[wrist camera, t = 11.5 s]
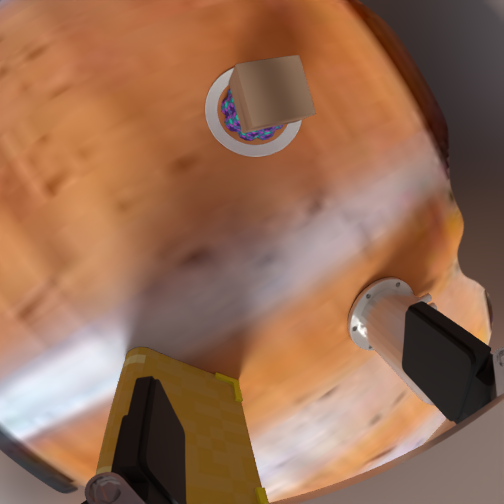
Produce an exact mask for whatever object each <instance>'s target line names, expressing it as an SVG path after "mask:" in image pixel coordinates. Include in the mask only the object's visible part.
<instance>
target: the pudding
mask: <svg viewBox="0 0 504 504" xmlns="http://www.w3.org/2000/svg"><path fill="white" fill-rule="evenodd" d="M233 69H234V68H232V69H230V70H228V71H226V72H225V73H224V74H222V75H221V76H220V77H219V78H218V79H217V80H216V81H215V82H214V83H213V85H212V86H211V88H210V90H209V92H208V95H207V98H206V103H205V114H206V120H207V123H208V126H209V128H210V130H211V132H212V133H213V135H214V136H215V138H216V139H217V140H218V141H219V142H220V143H221V144H222V145H224V146H225V147H226V148H228V149H229V150H231V151H233V152H235V153H238V154H241V155H245V156H250V157H260V156H267V155H270V154H273V153H276V152H278V151H280V150H281V149H283V148H284V147H286V146H287V145H288V144H289V143H290V142H291V141H292V140H293V139H294V137H295V136H296V134H297V132H298V131H299V128H300V125H301V122H302V120H300V121H297V122H294V123H289V124H288V125H287V127H286V129H285V130H284V132H283V133H282V134H281V135H280V136H279V137H277V138H276V139H275V140H273V141H271V142H269V143H266V144H261V145H249V144H244V143H241V142H239V141H237V140H235V139H233V138H232V137H231V136H230V135H228V134H227V133H226V131H225V130H224V129H223V127H222V126H221V124H220V121H219V119H218V114H217V104H218V100H219V97H220V95H221V93H222V92H223V90H224V89H225V88H226V87H227V86H228V84H229V79H230V77H231V74H232V72H233ZM221 110H222V112H223V113H224V114H225V115H226V118H225V124H226V127H227V128H228V129H229V130H230V131H234V132H238V134H239V136H240V138H242V139H244V140H249V141H252V140H254V139H255V138H259V139H261V140H266V139H269V138H271V137H272V136H273V134H274V132H275V130H277V129H281V128H282V126H283V125H279V126H274V127H270V128H265V129H261V130H256V131H252V132H247V133H243V134H242V130H241V127H240V123H239V119H238V115H237V112H236V108H235V104H234V101H233V97H232V93H231V90H230V89H229V90H228V97H227V98H226V99H224V100H223V101H222V104H221Z"/></svg>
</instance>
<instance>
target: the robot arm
mask: <svg viewBox="0 0 504 504" xmlns="http://www.w3.org/2000/svg"><path fill="white" fill-rule="evenodd" d="M431 299H432V298H431V295H430V294H429V293H428V294H425V295H423V296H422V297H420V298H419V297H416V296H415V295H414V294H413V291H412V289H411V288H410V286H409V285H408V284H407V283H406V282H404V281H402V280H401V279H398V278H392V277H388V278H383V279H380V280H377V281H375V282H374V283H372V284H370V285H369V286H368V287H367V288H365V289H364V290H363V291H362V293H361V294H360V295H359V296H358V297H357V299H356V300H355V302H354V304H353V306H352V308H351V310H350V313H349V317H348V332H349V335H350V337H351V339H352V340H353V341H354V343H355V344H356V345H357V346H359V347H360V348H362V349H365V350H375V351H376V352H377V353H378V354H379V355H380V356H381V357H382V358H383V359H384V361H385V362H386V363H387V364H388V365H389V366H390V367H391V368H392V369H393V370H394V371H395V372H396V374H397V375H398V376H399V377H400V378H401V379H402V380H403V381H404V382H405V383H406V384H407V386H408V387H409V388H410V389H411V390H412V391H413V392H414V393H415V394H416V395H417V397H418V398H419V399H421V400H422V401H423V402H425V403H427V404H430V405H435V406H436V407H437V408H438V409H439V410H440V411H441V412H442V413H443V414H444V416H445V417H446V418H447V419H446V420H445V421H444V422H443V423H442V425H441V426H440V427H439V428H438V429H437V430H436V431H435V432H434V433H433V435H432V436H431V437H430V438H429V439H428V440H427V441H426V442H425V443H424V444H423V445H421V446H420V447H418V448H416V449H414V450H412V451H410V452H408V453H406V454H404V455H402V456H400V457H398V458H396V459H394V460H392V461H390V462H388V463H385V464H383V465H381V466H379V467H376V468H374V469H372V470H369V471H367V472H365V473H362V474H360V475H357V476H355V477H352V478H350V479H347V480H344V481H342V482H339V483H336V484H333V485H330V486H327V487H324V488H321V489H318V490H315V491H312V492H309V493H305V494H302V495H298V496H295V497H291V498H287V499H283V500H279V501H275V502H271V503H267V504H504V347H502V348H499V349H498V350H496V351H495V353H494V354H492V353H490V351H491V348H490V347H489V346H488V345H486V344H485V343H483V342H482V341H481V340H479V339H478V338H476V337H475V336H473V335H472V334H471V333H469V332H468V331H466V330H465V329H463V328H462V327H461V326H459V325H458V324H456V323H455V322H453V321H452V320H450V319H449V318H448V317H446V316H445V315H443V314H442V313H440V312H439V311H437V307H436V305H435V304H434V303H430V304H427V303H428V302H430V301H431ZM85 497H86V501H84V502H83V503H81V504H187V502H186V465H185V432H184V429H183V426H182V425H181V423H180V421H179V419H178V417H177V415H176V413H175V411H174V409H173V407H172V405H171V403H170V401H169V399H168V397H167V395H166V393H165V390H164V388H163V386H162V384H161V382H160V380H159V379H154V377H153V376H147V377H141V378H137V379H136V381H135V385H134V389H133V394H132V398H131V402H130V406H129V411H128V415H124V416H123V418H122V421H121V425H120V430H119V434H118V439H117V443H116V448H115V453H114V458H113V463H112V468H111V472H104V473H100V474H97V475H95V476H94V477H92V478H91V479H90V480H89V481H88V483H87V484H86V487H85Z"/></svg>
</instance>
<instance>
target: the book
mask: <svg viewBox="0 0 504 504" xmlns="http://www.w3.org/2000/svg"><path fill="white" fill-rule="evenodd" d="M147 376H153V377H154V379H159V380H160V382H161V384H162V386H163V388H164V390H165V393H166V395H167V397H168V399H169V401H170V403H171V405H172V407H173V409H174V411H175V413H176V415H177V417H178V419H179V421H180V423H181V425H182V426H183V429H184V432H185V465H186V502H187V504H267V503H269V502H268V499H267V495H266V491H265V488H262V486H261V482H260V478H259V474H258V470H257V466H256V462H255V458H254V454H253V450H252V446H251V442H250V438H249V433H248V429H247V425H246V421H245V416H244V412H243V407H242V403H241V402H242V401H243V399H242V394H241V390H240V386H239V380H237V379H234V378H231V377H228V376H225V375H222V374H220V373H217V372H216V373H215V374H212V373H209V372H207V371H204V370H201V369H198V368H196V367H193V366H191V365H188V364H185V363H183V362H180V361H178V360H175V359H173V358H171V357H168V356H166V355H163V354H161V353H159V352H156V351H154V350H152V349H149V348H145V347H138V348H134V349H132V350H131V351H129V352H128V353H127V356H126V358H125V361H124V364H123V368H122V371H121V374H120V378H119V381H118V385H117V388H116V392H115V396H114V399H113V403H112V407H111V410H110V414H109V418H108V422H107V426H106V430H105V434H104V439H103V443H102V447H101V452H100V456H99V461H98V465H97V470H96V475H97V474H100V473H104V472H111V468H112V463H113V458H114V453H115V448H116V443H117V439H118V434H119V430H120V425H121V421H122V418H123V416H124V415H128V411H129V406H130V402H131V398H132V394H133V389H134V385H135V381H136V379H137V378H141V377H147Z"/></svg>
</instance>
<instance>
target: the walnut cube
mask: <svg viewBox="0 0 504 504" xmlns="http://www.w3.org/2000/svg"><path fill="white" fill-rule="evenodd" d="M229 86H230V90H231V93H232V97H233V101H234V104H235V108H236V112H237V115H238V119H239V123H240V127H241V130H242V134H243V133H247V132H252V131H256V130H261V129H265V128H270V127H274V126H279V125H284V124H289V123H294V122H297V121H300V120H302V119H305V118H307V117H309V116H312V115H314V114H316V112H315V108H314V105H313V101H312V97H311V94H310V90H309V87H308V83H307V80H306V76H305V73H304V70H303V66H302V63H301V60H300V57H299V55H294V56H286V57H278V58H270V59H264V60H257V61H251V62H245V63H240V64H235V67H234V69H233V72H232V74H231V77H230V79H229Z"/></svg>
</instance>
